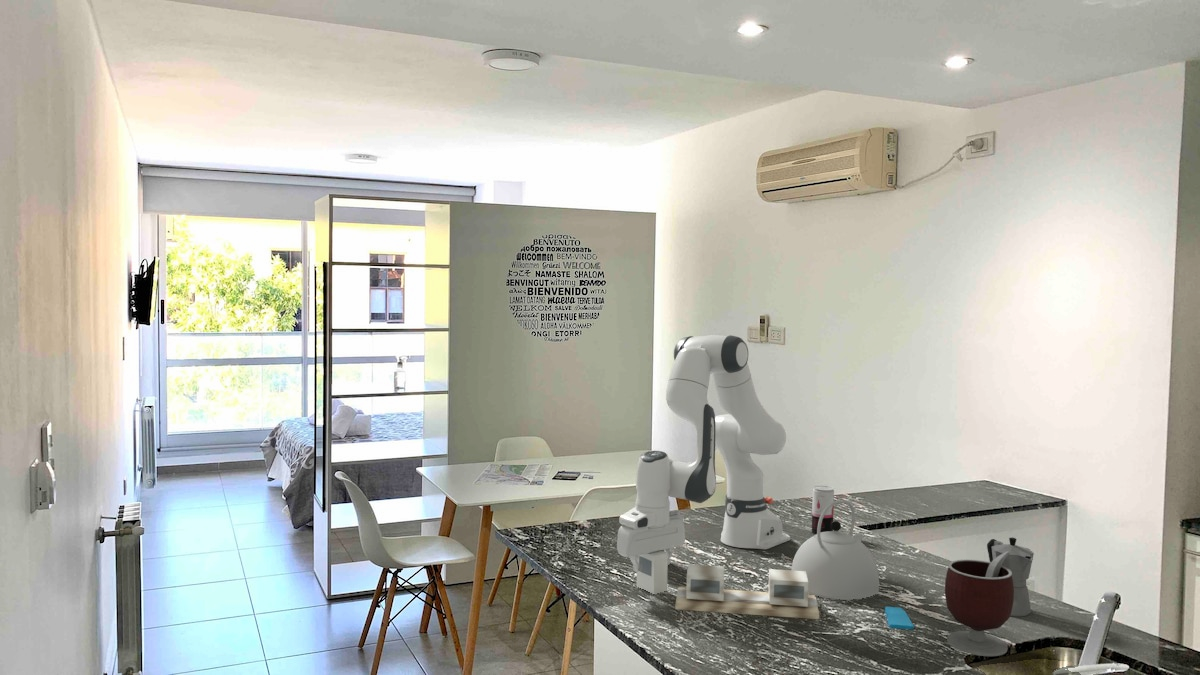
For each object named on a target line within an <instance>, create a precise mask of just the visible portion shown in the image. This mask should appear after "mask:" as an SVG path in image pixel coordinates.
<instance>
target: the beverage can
mask: <svg viewBox="0 0 1200 675" xmlns="http://www.w3.org/2000/svg"><path fill="white" fill-rule="evenodd" d="M834 501H835V490H834V487H833V486H827V485H815V486H813V489H812V501H811V502H812V506H811V507H812V508H811V510H812V512H811V533H812V535H813V536H814V535H816V534H817V528H818V522H819V519H820V516H821V514H822V512H823V510H824V509H825V508H826V507H827V506H828V505H829V504H830V503H832V502H834ZM834 506H835V505H833V506H832V507H830V508H829V509H828V510H827V512H826V513H825V515H824V517H823V520H822V523H821V530H820V533H821V532H826V531H834V530H832V528H831V523H832V522H833V521H834V510H835V508H834Z"/></svg>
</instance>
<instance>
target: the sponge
mask: <svg viewBox="0 0 1200 675" xmlns="http://www.w3.org/2000/svg"><path fill="white" fill-rule="evenodd" d="M884 613H885V616H886V620H887V623H888V627H889V628H892V629H903V630H914V629H915V625H914V624H913V622H912V620H911V618H910V617H909V615H908V614H907V612H906V610H904V609H903V608H902V607H899V606H885V609H884Z"/></svg>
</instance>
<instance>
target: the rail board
mask: <svg viewBox="0 0 1200 675" xmlns="http://www.w3.org/2000/svg"><path fill="white" fill-rule="evenodd" d="M818 606H819V603H818V601H817V598H816V596H815V595H811V594H808V579H807V574H806V571H792V569H789V570H788V569H773V568H768V591H756V590H752V591H751V590H741V589H739V590H737V589H725V565H723V566H722V565H708V564H707V565H705V564H704V565H703V564H694V563H693V564H689V563H688V565H687V572H686V586H678V588H677V591H676V599H675V606H674V608H675V610H680V611H681V610H682V611H696V612H708V613H709V612H711V613H726V614H738V615H739V614H740V615H752V616H769V617H781V618H782V617H783V618H794V619H795V618H798V619H810V620H820V611H819V608H818Z"/></svg>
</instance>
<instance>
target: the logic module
mask: <svg viewBox="0 0 1200 675" xmlns="http://www.w3.org/2000/svg"><path fill="white" fill-rule="evenodd" d="M637 561H638V563H639V564H641V565H642V568H641V569H642V570H641V571H639V572H636V586H637V587H636V588H638V587H639V588H638V589H640V588H641V589H640V590H642V589H644V590H646V591H648V592H650V593H649V594H651V593H652V594H651V595H653V594H655V595H657V594H656V593H659V594H661V593H660V592H663V593H665V592H664V591H667V592H668V553H666V551H664V552H663V551H661V550H660V551H655V552H651V553H646V554H641V555H639V559H637ZM644 590H643V591H644ZM646 591H645V592H646ZM648 592H647V593H648Z"/></svg>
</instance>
